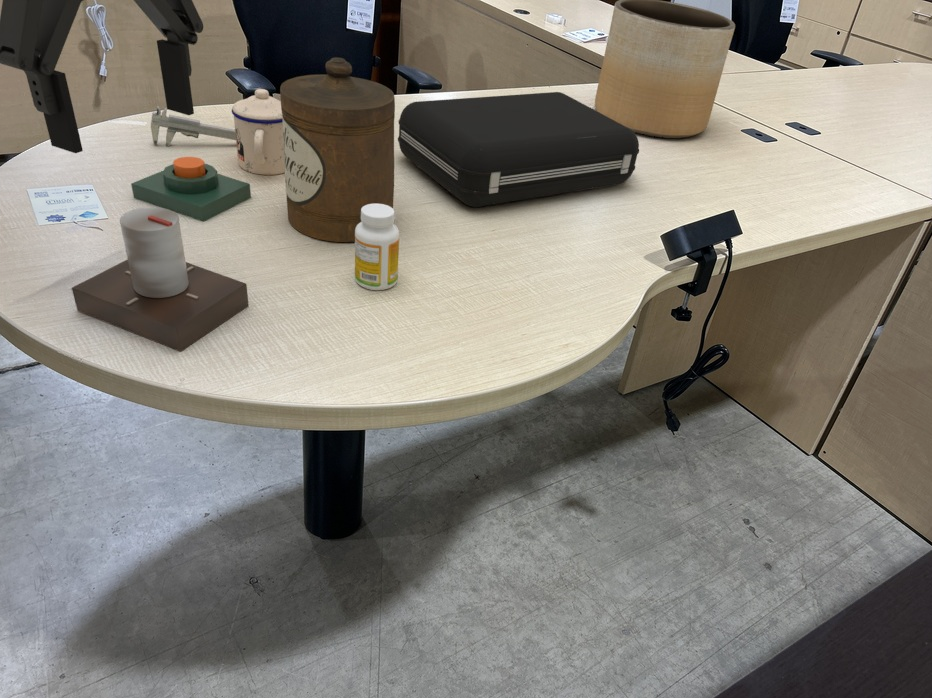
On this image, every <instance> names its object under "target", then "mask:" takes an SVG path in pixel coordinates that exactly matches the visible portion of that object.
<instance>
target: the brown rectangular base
mask: <svg viewBox="0 0 932 698" xmlns="http://www.w3.org/2000/svg"><path fill="white" fill-rule="evenodd" d="M186 268H187V274H188V280H189V285H188V287H187V289H186V290H184V291H183V292H182V293H180V294H177V295H175V296H171V297H166V298H150V297H145V296H142V295H140V294H138V293H137V292H136V291H135V290H134V287H133V283H132V278H131V273H130V268H129V264H128V259H127V258H126V260H123V261H122V262H120V263H118V264H115V265H114V266H111V267H109V268H107V269H105V270H104V271H102V272H99V273H98V274H95V275H93V276H92V277H90V278H87V279H85V280H84V281H81V282H80V283H78V284H76V285H74V286H72V287H71V292H72V295H73V299H74V304H75V306H76V310H77V312H78V313H82V314H85V315H87V316H89V317H92V318H94V319H96V320H99V321H102V322H105V323H107V324H109V325H112V326H115V327H117V328H119V329H122V330H125V331H126V332H127V331H128V332H130V333H133V334H135V335H137V336H140V337H143V338H145V339H148V340H150V341H153V342H155V343H157V344H160V345H163V346H165V347H168V348H170V349H173V350H175V351H178V352H182V351H184V350H186V349H187V348H189V347H190V346H191V345H192V344H194V343H196V342H197V341H199V340H200V339H201V338H203V337H204V336H206V335H208V334H209V333H210V332H212V331H213V330H215V329H216V328H218V327H220V326H221V325H222V324H224V323H225V322H227V321H228V320H229V319H231V318H233V317H234V316H236V315H237V314H239V313H241V311H243V310H244V309H246V308H247V307H249V295H248V285H247V283H246V282H243V281H240V280H238V279H234V278H232V277H229V276H226V275H223V274H221V273H218V272H216V271H213V270H209V269H207V268H204V267H201V266H199V265H195V264H192V263H190V262H187V261H186Z"/></svg>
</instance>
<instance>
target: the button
mask: <svg viewBox="0 0 932 698" xmlns="http://www.w3.org/2000/svg"><path fill="white" fill-rule="evenodd" d="M172 164H173V165H174V171H175V175H176V176H178V177H181V178H197V177H202V176H204V175H205V174H206V172H205V164H206V163H205V161H204V160H203V159H202V158H199V157H195V156H182V157H178V158H175V159H174V160H173V163H172Z"/></svg>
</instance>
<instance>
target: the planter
mask: <svg viewBox="0 0 932 698" xmlns="http://www.w3.org/2000/svg"><path fill="white" fill-rule="evenodd" d="M735 29H736V24H735V22H734V21H733V20H732V19H730V18H728V17H726V16H724V15H721V14H719V13H716V12H713V11H710V10H707V9H704V8H700V7H697V6H692V5H687V4H683V3H678V2H672V1H666V0H616V1H615V3H614V6H613V12H612V16H611V22H610V26H609V31H608V37H607V41H606V45H605V51H604V55H603V60H602V64H601V69H600V74H599V79H598V83H597V88H596V94H595V97H594V109H595V111H597V112H599V113H601V114H603V115H605V116H607V117H609V118H610V119H612V120H614V121H616V122H618V123H620V124H622V125H624V126H625V127H627V128H629V129H631V130H632V131H633V132H634V133H635V134H639V135H643V134H644V136H648V137H654V136H655V137H654V138H662V137H663V138H664V139H683V138H689V137H690V138H691V137H693V136H696V135H699V134H700V133H702V132H703V131H705V130H706V128H707V126H708V125H709V122H710V118H711V115H712V112H713V108H714V104H715V100H716V97H717V94H718V90H719V86H720V82H721V79H722V75H723V71H724V67H725V65H726V60H727V56H728V54H729V49H730V46H731V42H732V39H733V36H734V32H735Z"/></svg>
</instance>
